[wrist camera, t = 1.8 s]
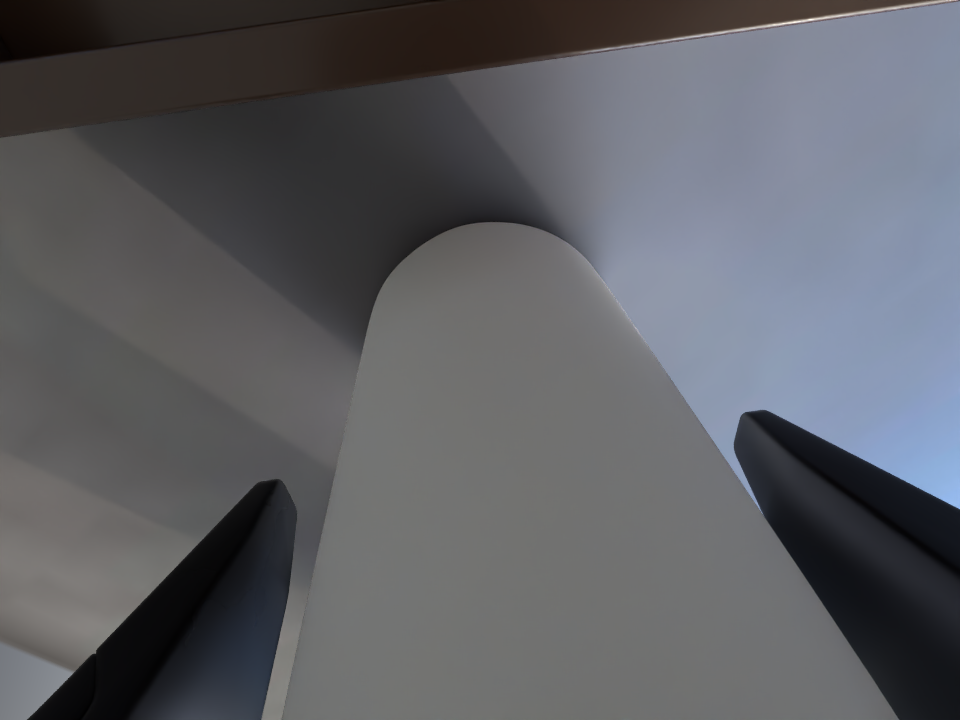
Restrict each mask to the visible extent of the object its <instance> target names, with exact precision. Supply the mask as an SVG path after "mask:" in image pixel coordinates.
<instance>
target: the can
mask: <svg viewBox="0 0 960 720" xmlns="http://www.w3.org/2000/svg"><path fill="white" fill-rule="evenodd" d="M282 720H899V719H898V717H897V716H896V714H895V713H894V711H893V710H892V708H891V706H890V705H889V703H888V702H887V700H886V699H885V697H884V696H883V694H882V692H881V691H880V689H879V688H878V686H877V685H876V683H875V682H874V680H873V679H872V677H871V676H870V674H869V673H868V671H867V670H866V668H865V667H864V665H863V664H862V662H861V661H860V659H859V658H858V656H857V655H856V653H855V652H854V650H853V649H852V647H851V646H850V644H849V643H848V641H847V640H846V638H845V637H844V635H843V634H842V632H841V631H840V629H839V628H838V626H837V625H836V623H835V622H834V620H833V619H832V617H831V616H830V614H829V613H828V611H827V610H826V608H825V607H824V605H823V604H822V602H821V601H820V599H819V598H818V596H817V595H816V593H815V592H814V590H813V589H812V587H811V586H810V584H809V583H808V581H807V580H806V578H805V577H804V575H803V574H802V572H801V571H800V569H799V568H798V566H797V565H796V563H795V562H794V560H793V559H792V557H791V556H790V554H789V553H788V551H787V550H786V548H785V547H784V545H783V544H782V542H781V541H780V539H779V538H778V537H777V535H776V534H775V532H774V531H773V529H772V528H771V526H770V525H769V523H768V522H767V520H766V519H765V517H764V516H763V514H762V513H761V511H760V510H759V508H758V507H757V505H756V504H755V502H754V501H753V499H752V498H751V496H750V495H749V494H748V492H747V491H746V489H745V488H744V486H743V485H742V483H741V482H740V480H739V479H738V477H737V476H736V474H735V473H734V471H733V470H732V468H731V467H730V465H729V464H728V462H727V461H726V459H725V458H724V457H723V455H722V454H721V452H720V451H719V449H718V448H717V446H716V445H715V443H714V442H713V440H712V439H711V437H710V436H709V434H708V433H707V431H706V430H705V429H704V427H703V426H702V424H701V423H700V421H699V420H698V418H697V417H696V415H695V414H694V412H693V411H692V409H691V408H690V406H689V405H688V403H687V402H686V401H685V399H684V398H683V396H682V395H681V393H680V392H679V390H678V389H677V387H676V386H675V384H674V383H673V381H672V380H671V378H670V377H669V376H668V374H667V373H666V371H665V370H664V368H663V367H662V365H661V364H660V362H659V361H658V359H657V358H656V356H655V355H654V354H653V352H652V351H651V349H650V348H649V346H648V345H647V343H646V342H645V340H644V339H643V337H642V336H641V334H640V333H639V332H638V330H637V329H636V327H635V326H634V324H633V323H632V321H631V320H630V318H629V317H628V316H627V314H626V313H625V311H624V310H623V308H622V307H621V305H620V304H619V302H618V301H617V300H616V298H615V297H614V295H613V294H612V292H611V291H610V290H609V288H608V287H607V285H606V284H605V282H604V281H603V280H602V278H601V277H600V276H599V274H598V273H597V272H596V270H595V269H594V268H593V266H592V265H591V264H590V263H589V262H588V260H587V259H586V258H585V257H584V256H583V255H582V254H581V253H580V252H579V251H577V250H576V249H575V248H574V247H572V246H571V245H570V244H568V243H567V242H565V241H564V240H562V239H560V238H559V237H557V236H555V235H553V234H551V233H548V232H546V231H543V230H541V229H538V228H534V227H531V226H527V225H522V224H516V223H505V222H485V223H474V224H468V225H463V226H459V227H456V228H453V229H451V230H448V231H446V232H444V233H441V234H439V235H437V236H436V237H434V238H432V239H430V240H429V241H427V242H426V243H424V244H423V245H421V246H420V247H418V248H417V249H416V250H414V251H413V252H412V253H411V254H410V255H408V256H407V257H406V258H405V259H404V260H403V261H402V262H401V263H400V264H399V265H398V266H397V267H396V268H395V269H394V270H393V271H392V272H391V274H390V275H389V276H388V278H387V279H386V281H385V282H384V284H383V286H382V288H381V290H380V292H379V294H378V296H377V299H376V301H375V304H374V307H373V310H372V314H371V317H370V321H369V325H368V329H367V333H366V338H365V342H364V346H363V351H362V355H361V359H360V364H359V368H358V372H357V377H356V381H355V386H354V390H353V395H352V399H351V404H350V408H349V413H348V417H347V422H346V426H345V431H344V435H343V440H342V444H341V448H340V453H339V458H338V462H337V467H336V471H335V476H334V480H333V485H332V489H331V494H330V498H329V503H328V507H327V512H326V517H325V521H324V526H323V530H322V535H321V539H320V544H319V548H318V553H317V558H316V562H315V567H314V571H313V576H312V581H311V585H310V590H309V594H308V599H307V604H306V608H305V613H304V617H303V622H302V627H301V631H300V636H299V640H298V645H297V650H296V654H295V659H294V663H293V668H292V673H291V677H290V682H289V687H288V692H287V696H286V701H285V706H284V710H283V715H282Z"/></svg>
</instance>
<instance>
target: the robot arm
mask: <svg viewBox="0 0 960 720" xmlns="http://www.w3.org/2000/svg"><path fill="white" fill-rule="evenodd" d="M734 451H735V454H736V457H737V459H738V461H739V463H740V465H741V467H742V470H743V472H744V474H745V476H746V478H747V480H748V483H749V485H750V487H751V489H752V491H753V493H754V496H755V498H756V500H757V502H758V504H759V506H760V509H761V511H762V513H763V515H764V517H765V519H766V520H767V522H768V523H769V525H770V526H771V528H772V529H773V531H774V532H775V534H776V535H777V537H778V538H779V539H780V541H781V542H782V544H783V545H784V547H785V548H786V550H787V551H788V553H789V554H790V556H791V557H792V559H793V560H794V562H795V563H796V565H797V566H798V568H799V569H800V571H801V572H802V574H803V575H804V577H805V578H806V580H807V581H808V583H809V584H810V586H811V587H812V589H813V590H814V592H815V593H816V595H817V596H818V598H819V599H820V601H821V602H822V604H823V605H824V607H825V608H826V610H827V611H828V613H829V614H830V616H831V617H832V619H833V620H834V622H835V623H836V625H837V626H838V628H839V629H840V631H841V632H842V634H843V635H844V637H845V638H846V640H847V641H848V643H849V644H850V646H851V647H852V649H853V650H854V652H855V653H856V655H857V656H858V658H859V659H860V661H861V662H862V664H863V665H864V667H865V668H866V670H867V671H868V673H869V674H870V676H871V677H872V679H873V680H874V682H875V683H876V685H877V686H878V688H879V689H880V691H881V692H882V694H883V696H884V697H885V699H886V700H887V702H888V703H889V705H890V706H891V708H892V710H893V711H894V713H895V714H896V716H897V717H898V719H899V720H960V509H958V508H956V507H954V506H952V505H950V504H948V503H946V502H944V501H943V500H941V499H939V498H937V497H935V496H933V495H931V494H929V493H927V492H925V491H923V490H921V489H919V488H917V487H915V486H913V485H911V484H909V483H907V482H905V481H904V480H902V479H900V478H898V477H896V476H894V475H892V474H890V473H888V472H886V471H884V470H882V469H880V468H878V467H876V466H874V465H872V464H870V463H868V462H867V461H865V460H863V459H861V458H859V457H857V456H855V455H853V454H851V453H849V452H847V451H845V450H843V449H841V448H839V447H837V446H835V445H833V444H831V443H829V442H828V441H826V440H824V439H822V438H820V437H818V436H816V435H814V434H812V433H810V432H808V431H806V430H804V429H802V428H800V427H798V426H796V425H794V424H792V423H790V422H789V421H787V420H785V419H783V418H781V417H779V416H777V415H775V414H773V413H771V412H769V411H766V410H758V411H751V412H745V413H743V414H742V416H741V417H740V420H739V424H738V428H737V432H736V436H735V440H734ZM296 521H297V510H296V506H295V504H294V502H293V500H292V498H291V496H290V494H289V492H288V490H287V488H286V486H285V484H284V483H283V482H282V481H281V480H280V479H274V480H267V481H261V482H259V483H257V484H256V485H255V486H254V487H253V488H252V489H251V490H250V491H249V492H248V493H247V494H246V495H245V496H244V497H243V498H242V499H241V500H240V501H239V502H238V503H237V504H236V505H235V506H234V507H233V509H232V510H231V511H230V512H229V513H228V514H227V515H226V516H225V517H224V518H223V519H222V520H221V521H220V522H219V523H218V524H217V525H216V526H215V527H214V528H213V529H212V530H211V531H210V532H209V533H208V534H207V536H206V537H205V538H204V539H203V540H202V541H201V542H200V543H199V544H198V545H197V546H196V547H195V548H194V549H193V550H192V551H191V552H190V553H189V554H188V555H187V556H186V557H185V558H184V559H183V560H182V561H181V562H180V564H179V565H178V566H177V567H176V568H175V569H174V570H173V571H172V572H171V573H170V574H169V575H168V576H167V577H166V578H165V579H164V580H163V581H162V582H161V583H160V584H159V585H158V586H157V587H156V588H155V589H154V591H153V592H152V593H151V594H150V595H149V596H148V597H147V598H146V599H145V600H144V601H143V602H142V603H141V604H140V605H139V606H138V607H137V608H136V609H135V610H134V611H133V612H132V613H131V614H130V615H129V616H128V617H127V619H126V620H125V621H124V622H123V623H122V624H121V625H120V626H119V627H118V628H117V629H116V630H115V631H114V632H113V633H112V634H111V635H110V636H109V637H108V638H107V639H106V640H105V641H104V642H103V643H102V644H101V646H100V647H99V648H98V649H97V650H96V654H92V655H91V656H90V657H89V658H88V659H87V660H86V661H85V662H84V663H83V664H82V665H81V666H80V667H79V668H78V669H77V670H76V671H75V672H74V673H73V674H72V675H71V676H70V677H69V678H68V680H67V681H65V683H63V685H62V686H61V687H60V688H59V689H58V690H57V691H56V692H55V693H54V694H53V695H52V696H51V697H50V698H49V699H48V700H47V701H46V702H45V703H44V704H43V705H42V706H41V707H40V708H39V709H38V710H37V711H36V712H35V713H34V714H33V715H32V716H30V718H29V719H27V720H261V718H262V713H263V709H264V704H265V700H266V695H267V691H268V686H269V682H270V677H271V672H272V668H273V663H274V659H275V654H276V650H277V645H278V641H279V636H280V631H281V627H282V622H283V618H284V613H285V609H286V604H287V599H288V593H289V586H290V578H291V568H292V559H293V550H294V540H295V531H296Z"/></svg>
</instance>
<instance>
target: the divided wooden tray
mask: <svg viewBox="0 0 960 720" xmlns="http://www.w3.org/2000/svg"><path fill="white" fill-rule="evenodd" d="M958 1H960V0H0V138H1V137H8V136H15V135H22V134H29V133H36V132H43V131H51V130H58V129H65V128H72V127H79V126H86V125H93V124H100V123H107V122H114V121H121V120H128V119H135V118H142V117H149V116H156V115H163V114H170V113H177V112H184V111H191V110H198V109H205V108H212V107H219V106H226V105H233V104H240V103H247V102H255V101H262V100H269V99H276V98H283V97H290V96H297V95H304V94H311V93H318V92H325V91H332V90H339V89H346V88H353V87H360V86H367V85H374V84H381V83H388V82H395V81H402V80H409V79H416V78H423V77H430V76H437V75H444V74H452V73H459V72H466V71H473V70H480V69H487V68H494V67H501V66H508V65H515V64H522V63H529V62H536V61H543V60H550V59H557V58H564V57H571V56H578V55H585V54H592V53H599V52H606V51H613V50H620V49H627V48H634V47H641V46H648V45H656V44H663V43H670V42H677V41H684V40H691V39H698V38H705V37H712V36H719V35H726V34H733V33H740V32H747V31H754V30H761V29H768V28H775V27H782V26H789V25H796V24H803V23H810V22H817V21H824V20H831V19H838V18H845V17H852V16H860V15H867V14H874V13H881V12H888V11H895V10H902V9H909V8H916V7H923V6H930V5H937V4H944V3H951V2H958Z"/></svg>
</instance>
